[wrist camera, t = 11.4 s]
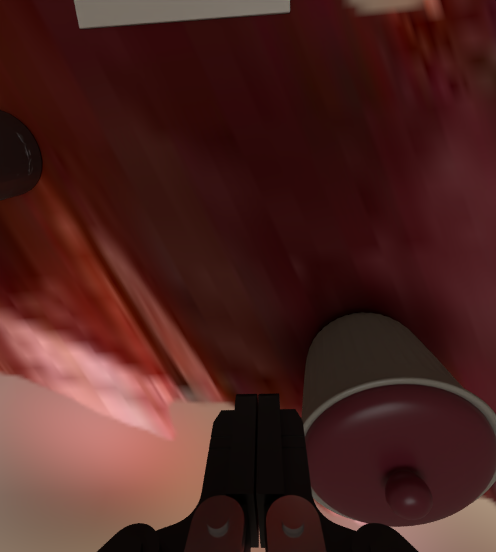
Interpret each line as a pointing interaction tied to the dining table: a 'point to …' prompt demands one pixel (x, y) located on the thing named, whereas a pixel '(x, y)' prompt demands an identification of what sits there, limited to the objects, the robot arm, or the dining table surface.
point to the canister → (391, 426)
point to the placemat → (169, 11)
